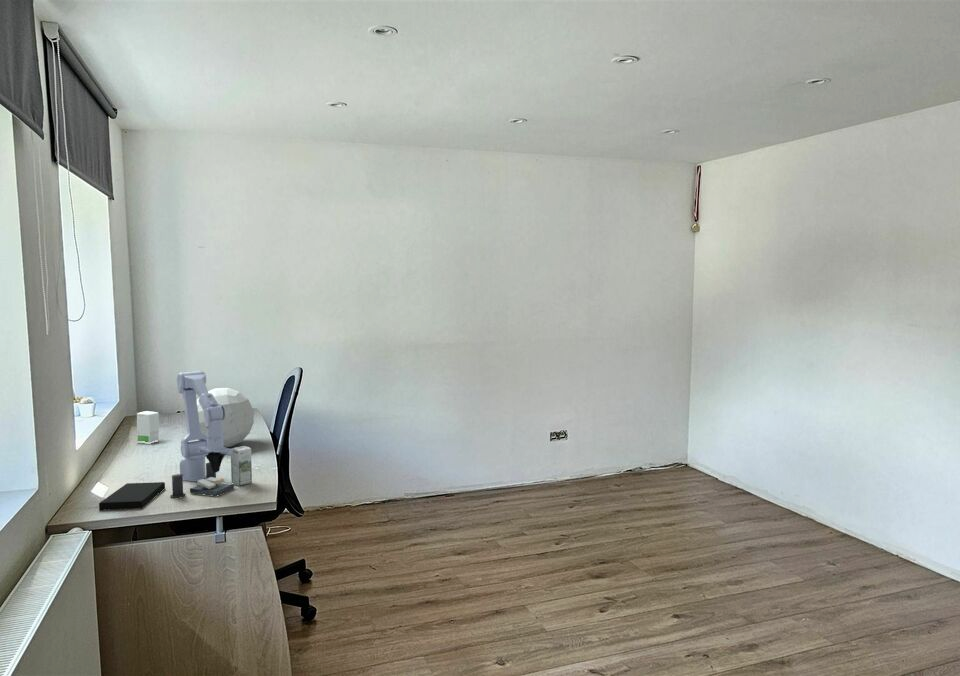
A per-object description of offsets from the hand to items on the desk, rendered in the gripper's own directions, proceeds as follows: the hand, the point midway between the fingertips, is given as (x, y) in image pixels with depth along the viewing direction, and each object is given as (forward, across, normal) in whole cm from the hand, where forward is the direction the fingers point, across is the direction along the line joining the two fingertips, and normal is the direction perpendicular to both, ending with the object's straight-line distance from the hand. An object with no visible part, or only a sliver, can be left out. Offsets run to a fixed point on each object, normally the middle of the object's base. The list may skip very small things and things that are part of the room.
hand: (216, 471), depth 251 cm
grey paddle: (+4, -1, -4) cm, 6 cm away
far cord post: (+7, -9, +7) cm, 14 cm away
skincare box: (+8, -86, +55) cm, 103 cm away
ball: (+8, -44, +59) cm, 74 cm away
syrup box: (+8, +4, +10) cm, 13 cm away
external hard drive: (+8, -22, -18) cm, 30 cm away
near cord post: (+7, -9, -11) cm, 16 cm away
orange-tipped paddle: (+4, -1, 0) cm, 4 cm away
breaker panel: (+7, -1, -2) cm, 8 cm away
